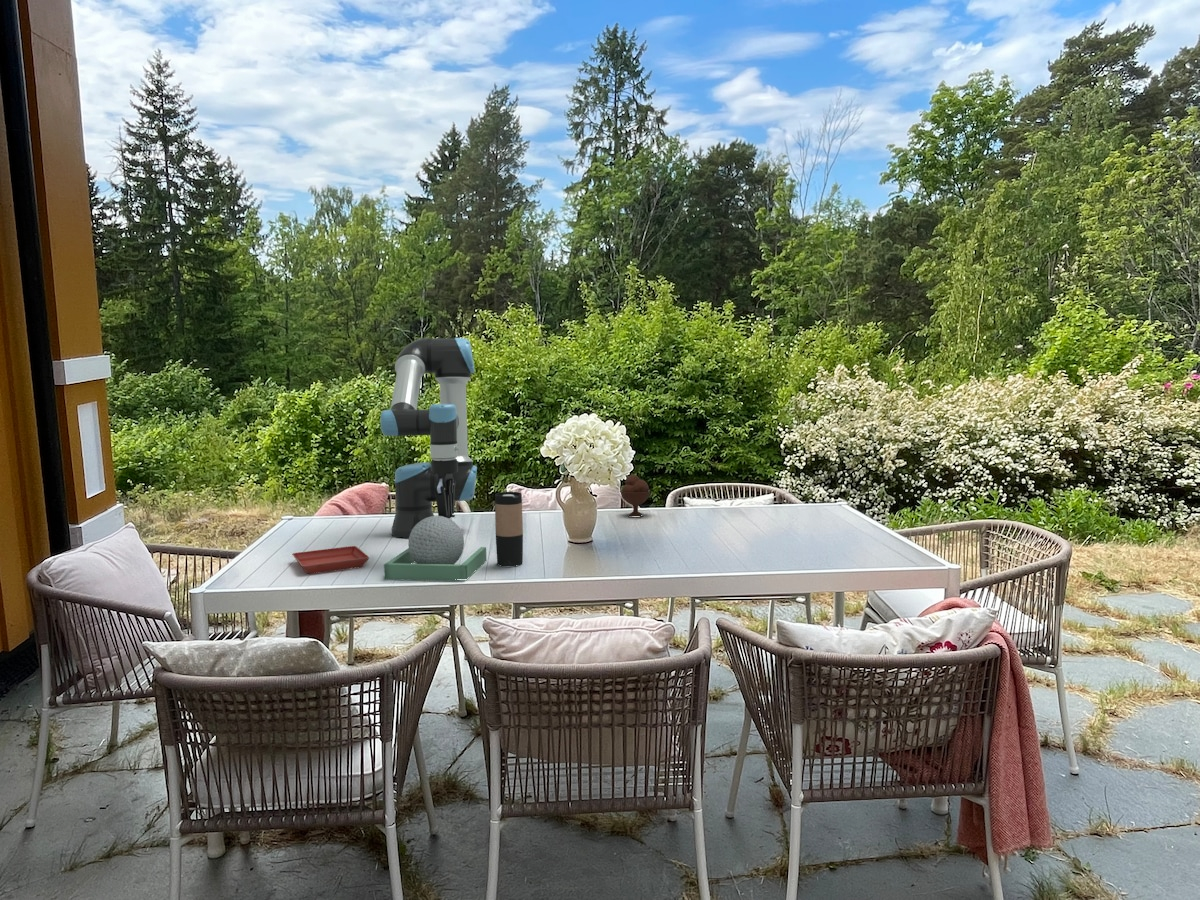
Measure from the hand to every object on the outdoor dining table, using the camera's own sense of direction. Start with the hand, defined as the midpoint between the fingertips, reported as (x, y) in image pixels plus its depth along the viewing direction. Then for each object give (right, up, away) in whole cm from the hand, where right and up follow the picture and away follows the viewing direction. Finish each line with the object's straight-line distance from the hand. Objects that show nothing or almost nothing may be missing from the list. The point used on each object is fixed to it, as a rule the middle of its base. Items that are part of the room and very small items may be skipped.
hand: (447, 540), depth 233 cm
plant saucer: (-33, -7, -1) cm, 34 cm away
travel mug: (+18, -6, -2) cm, 19 cm away
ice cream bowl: (+57, +2, +65) cm, 86 cm away
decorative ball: (-1, -7, -8) cm, 11 cm away
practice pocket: (-1, -7, -7) cm, 10 cm away
